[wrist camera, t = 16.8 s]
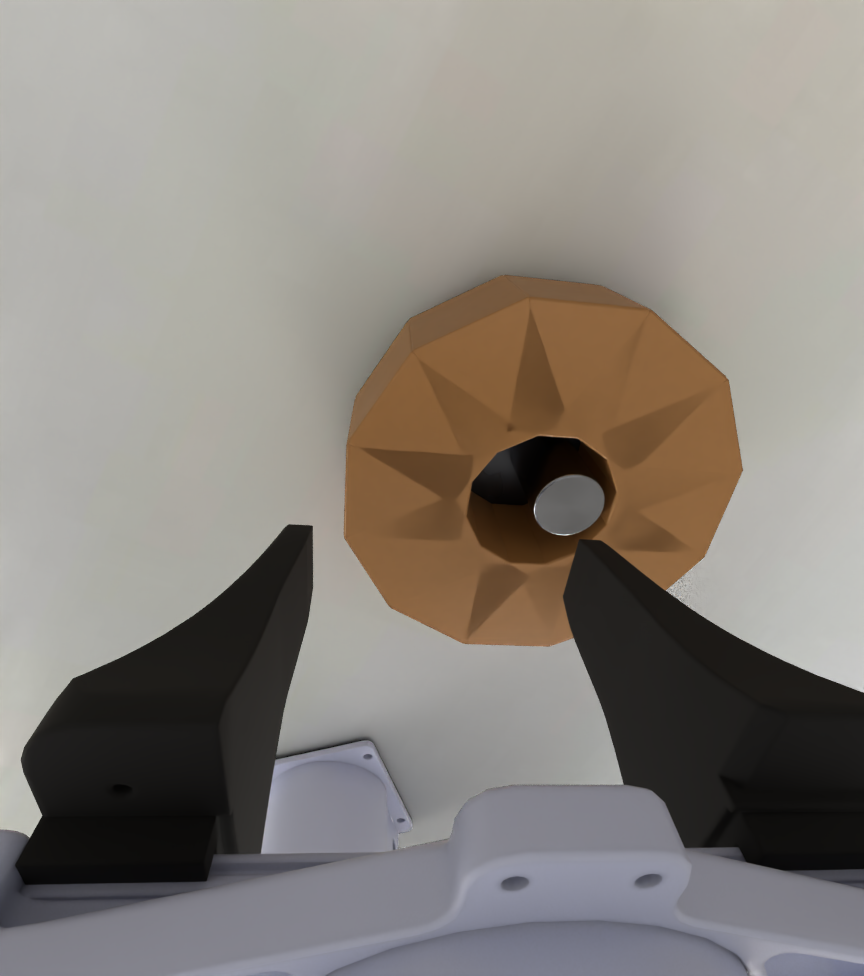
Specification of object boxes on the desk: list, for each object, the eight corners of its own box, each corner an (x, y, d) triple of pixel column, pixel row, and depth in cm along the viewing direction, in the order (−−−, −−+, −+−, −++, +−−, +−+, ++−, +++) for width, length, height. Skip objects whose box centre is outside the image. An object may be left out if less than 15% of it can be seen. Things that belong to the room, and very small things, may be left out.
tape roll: (730, 298, 18) (809, 325, 15) (626, 585, 25) (664, 650, 21) (359, 259, 17) (351, 278, 14) (348, 572, 23) (340, 640, 20)
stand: (646, 503, 24) (704, 577, 19) (452, 550, 25) (465, 632, 20) (636, 302, 20) (708, 338, 15) (399, 365, 20) (401, 418, 16)
